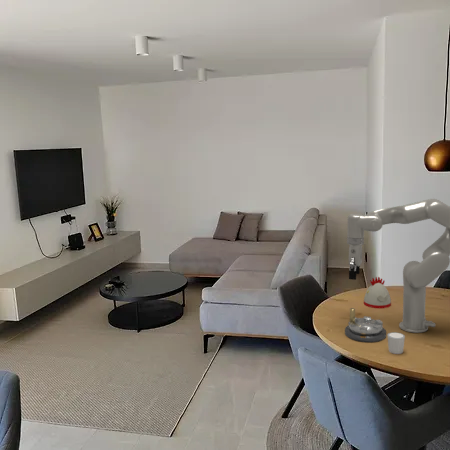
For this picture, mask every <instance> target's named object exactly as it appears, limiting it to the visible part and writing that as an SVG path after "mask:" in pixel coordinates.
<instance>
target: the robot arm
mask: <svg viewBox="0 0 450 450" xmlns="http://www.w3.org/2000/svg"><path fill="white" fill-rule="evenodd" d="M426 220H432V221H433V222H435V223H437V224H439V225H440V226H442V227H444V228H445V230H444V232H443V233H442V235H441V236H439V237H438V238H437V239H436V240H435V241H434V242H433V243H431V245H429V246H428V247H427V248H426V249H424V250H423V252H422V261H418V260H411V261H408V262H407V263H406V264H405V265H404V267H403V268H402V269H403V270H402V280H403V282H402V283H403V296H402V304H403V305H402V321H401V322H399V324H398V326H399V328H400V329H401V330H403V331H405V332H408V333H416V334H419V333H425V332H427V331H428V330H429V327H431V328H435V327H436V322H433V321H432V320H427V318H426V296H427V295H426V290H427V289H426V288H427V286H428V285H430V284H431V283H432V282H434V280H436V279H437V278H438V277H440V276H441V275H442V274H443V273H444V272H446V270H447V269H448V267H449V266H450V205H448V204H446V203H444V202H443V201H441V200H440V199H437V198H429V199H425V200H420V201H417V202H414V203H412V202H411V203H408V204H405V205H404V204H403V205H399V206H392V207H387V208H386V207H385V208H381V209H378V210H374V211H370V212H367V213H366V214H365V215H363V214H362V213H350V214H348V215H347V228H346V230H347V233H346V234H347V236H346V239H347V240H346V244H347V245H348V246H349V247H348V265H349V270H348V280H353V281H355V280H357V275H359V274H360V272H361V271H360V268H361V265H362V263H363V245H365V244H364V243H365V231H367V232H374V233H375V232H378V231H380V230H382V228H383V226H384V225H390V224H401V225H408V224H412V223H417V222H421V221H426Z"/></svg>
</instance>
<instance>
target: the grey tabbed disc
mask: <svg viewBox="0 0 450 450" xmlns="http://www.w3.org/2000/svg"><path fill="white" fill-rule="evenodd" d="M348 325H349V331H350V332H352V333H354V334H357V335H361V336H375V335H379V334H381V333H382V331H383V328H384V326H383V325H384V323H383V321H382V320H381V319H374V318H372V317H371V316H365V315H364V316H363V317H356V308H354V307H350V308H349V321H348Z"/></svg>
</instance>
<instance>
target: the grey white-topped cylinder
mask: <svg viewBox="0 0 450 450" xmlns="http://www.w3.org/2000/svg"><path fill="white" fill-rule="evenodd" d="M386 337H387V347H388V348H387V349H388V352H389V353H390V354H393V355H394V354H395V355H401V354H403V353H404V348H405V340H406V339H405V338H406V336H405V334H403V333H401V332H388V333H387V334H386Z"/></svg>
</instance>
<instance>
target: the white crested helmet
mask: <svg viewBox="0 0 450 450" xmlns="http://www.w3.org/2000/svg"><path fill="white" fill-rule="evenodd" d="M369 282H370V284H371V285H369V287H368V288H367V289H366V291H365V295H364V298H363V304H364V306H366V307H368V308H372V309H388V308H391V306H392V299H391V295H390V292H389V290H388V289H387V287H386V286H385V280H383V278H380V276H378V277H377V276H375V278H374V277H372V279H371V280H369Z"/></svg>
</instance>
